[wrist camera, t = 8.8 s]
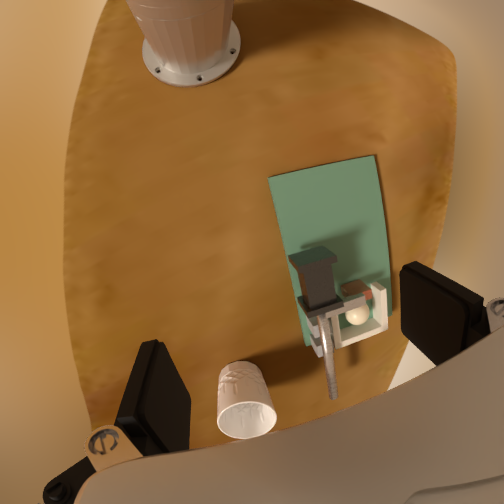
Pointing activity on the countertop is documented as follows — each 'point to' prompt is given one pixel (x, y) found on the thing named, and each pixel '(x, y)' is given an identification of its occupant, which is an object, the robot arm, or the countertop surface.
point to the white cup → (244, 401)
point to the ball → (358, 315)
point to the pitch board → (335, 228)
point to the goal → (365, 329)
